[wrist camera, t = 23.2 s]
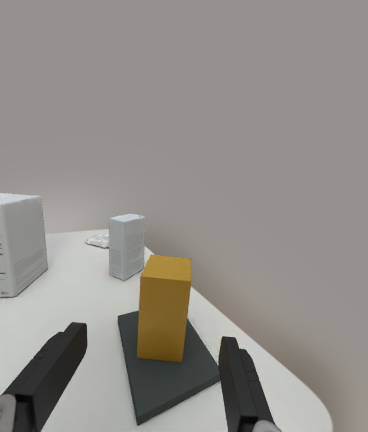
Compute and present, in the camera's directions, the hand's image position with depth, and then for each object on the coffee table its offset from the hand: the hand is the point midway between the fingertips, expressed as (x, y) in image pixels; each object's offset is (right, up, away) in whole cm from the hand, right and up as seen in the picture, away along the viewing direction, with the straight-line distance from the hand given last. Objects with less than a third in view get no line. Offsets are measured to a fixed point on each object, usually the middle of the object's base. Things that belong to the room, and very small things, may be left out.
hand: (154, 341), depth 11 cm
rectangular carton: (-29, -4, +21) cm, 37 cm away
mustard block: (-1, -8, +12) cm, 14 cm away
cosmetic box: (-10, -5, +28) cm, 30 cm away
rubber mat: (-1, -9, +12) cm, 15 cm away
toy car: (-22, -1, +41) cm, 46 cm away
